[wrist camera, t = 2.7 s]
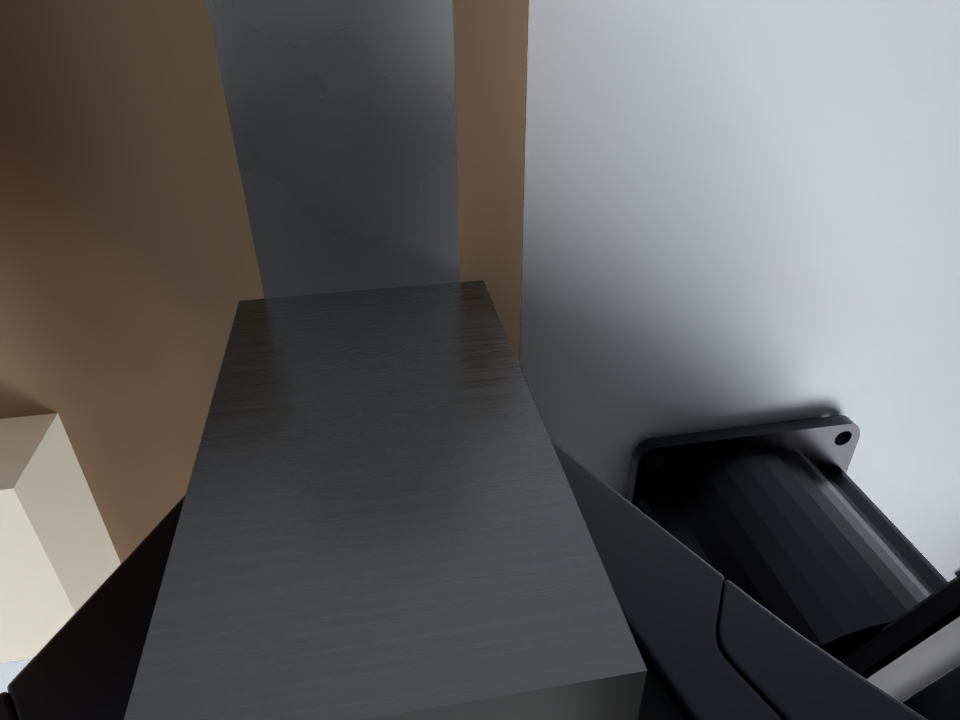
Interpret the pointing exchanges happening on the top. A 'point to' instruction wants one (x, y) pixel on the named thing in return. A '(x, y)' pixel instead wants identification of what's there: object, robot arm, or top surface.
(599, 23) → the top surface
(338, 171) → the scraper
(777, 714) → the robot arm
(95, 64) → the board
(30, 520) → the tile cream
